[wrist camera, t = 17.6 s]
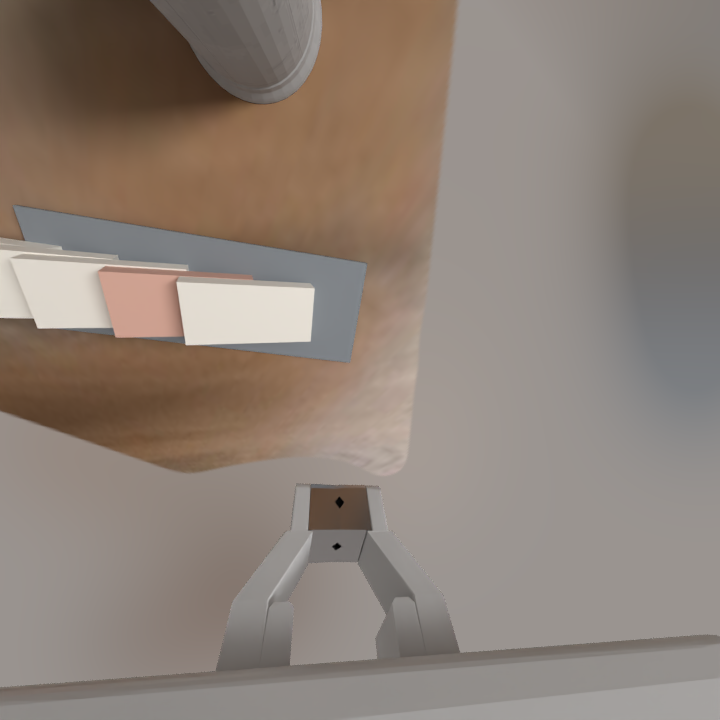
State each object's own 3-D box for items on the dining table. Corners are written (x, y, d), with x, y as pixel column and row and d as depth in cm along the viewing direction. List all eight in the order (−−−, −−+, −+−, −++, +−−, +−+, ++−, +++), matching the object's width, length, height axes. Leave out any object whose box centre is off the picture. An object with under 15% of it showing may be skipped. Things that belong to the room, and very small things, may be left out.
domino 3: (253, 328, 27) (121, 329, 23) (251, 274, 25) (105, 266, 21) (254, 335, 26) (115, 337, 22) (253, 279, 23) (97, 271, 19)
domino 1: (130, 313, 25) (-37, 309, 21) (117, 255, 23) (-71, 237, 19) (125, 319, 24) (-53, 317, 20) (112, 259, 22) (-92, 241, 18)
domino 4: (306, 334, 28) (187, 336, 24) (310, 283, 25) (179, 276, 21) (310, 341, 26) (185, 345, 22) (314, 288, 24) (176, 281, 20)
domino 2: (194, 320, 26) (48, 320, 22) (188, 264, 24) (22, 253, 20) (193, 327, 25) (37, 328, 21) (186, 269, 23) (9, 258, 19)
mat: (60, 326, 26) (56, 328, 26) (17, 205, 22) (12, 205, 21) (349, 360, 30) (349, 362, 30) (366, 263, 25) (367, 263, 25)
